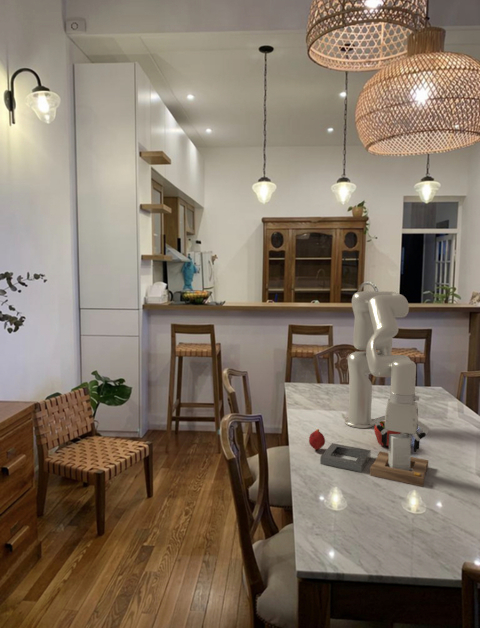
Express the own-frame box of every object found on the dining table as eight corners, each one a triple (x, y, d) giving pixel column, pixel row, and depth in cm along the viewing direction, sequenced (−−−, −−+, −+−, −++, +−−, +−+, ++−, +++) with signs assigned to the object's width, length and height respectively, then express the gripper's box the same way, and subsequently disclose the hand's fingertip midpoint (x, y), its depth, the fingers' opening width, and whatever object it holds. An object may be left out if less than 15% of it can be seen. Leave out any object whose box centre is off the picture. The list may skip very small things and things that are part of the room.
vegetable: (381, 452, 165) (382, 425, 164) (366, 442, 175) (367, 416, 174) (407, 449, 168) (408, 423, 167) (391, 439, 178) (391, 414, 177)
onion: (312, 453, 164) (313, 432, 163) (306, 447, 169) (306, 427, 168) (327, 452, 165) (327, 431, 164) (320, 446, 171) (320, 425, 170)
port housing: (379, 458, 160) (379, 450, 160) (428, 467, 153) (428, 459, 152) (370, 475, 147) (370, 466, 146) (422, 486, 139) (423, 477, 139)
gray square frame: (332, 449, 167) (332, 443, 167) (370, 457, 161) (370, 450, 161) (320, 463, 155) (320, 456, 155) (361, 472, 149) (361, 465, 148)
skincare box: (405, 468, 152) (406, 433, 151) (410, 473, 148) (411, 438, 147) (387, 468, 152) (388, 433, 151) (392, 473, 148) (393, 438, 147)
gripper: (432, 398, 147) (429, 449, 149) (377, 391, 155) (375, 439, 157) (429, 404, 140) (426, 457, 142) (372, 396, 148) (370, 446, 150)
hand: (399, 447), depth 149 cm, fingers open, 9 cm apart
